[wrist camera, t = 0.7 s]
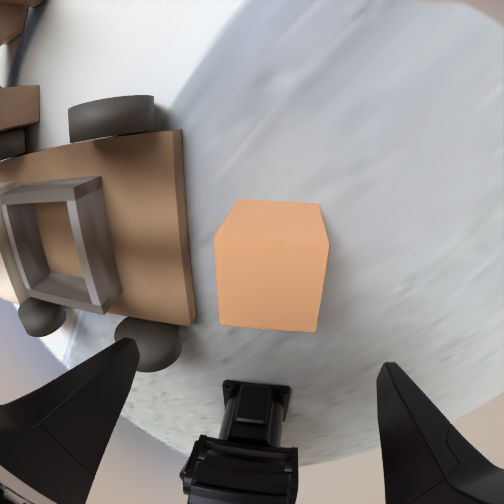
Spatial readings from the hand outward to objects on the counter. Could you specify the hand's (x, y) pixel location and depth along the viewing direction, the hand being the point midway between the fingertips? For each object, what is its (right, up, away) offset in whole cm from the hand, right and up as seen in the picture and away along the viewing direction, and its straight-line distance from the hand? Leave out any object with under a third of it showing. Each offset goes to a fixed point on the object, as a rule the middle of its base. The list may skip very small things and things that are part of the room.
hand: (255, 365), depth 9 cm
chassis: (-14, +6, +11) cm, 19 cm away
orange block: (+1, +5, +10) cm, 11 cm away
